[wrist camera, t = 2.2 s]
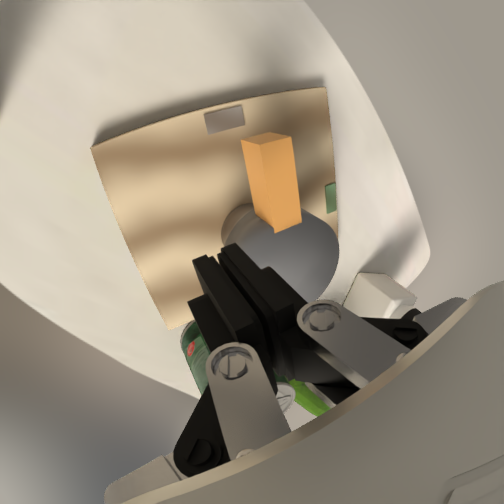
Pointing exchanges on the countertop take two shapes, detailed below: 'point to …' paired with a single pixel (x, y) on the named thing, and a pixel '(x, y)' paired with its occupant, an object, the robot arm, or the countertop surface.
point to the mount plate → (207, 184)
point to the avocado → (308, 398)
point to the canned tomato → (199, 354)
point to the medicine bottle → (380, 298)
